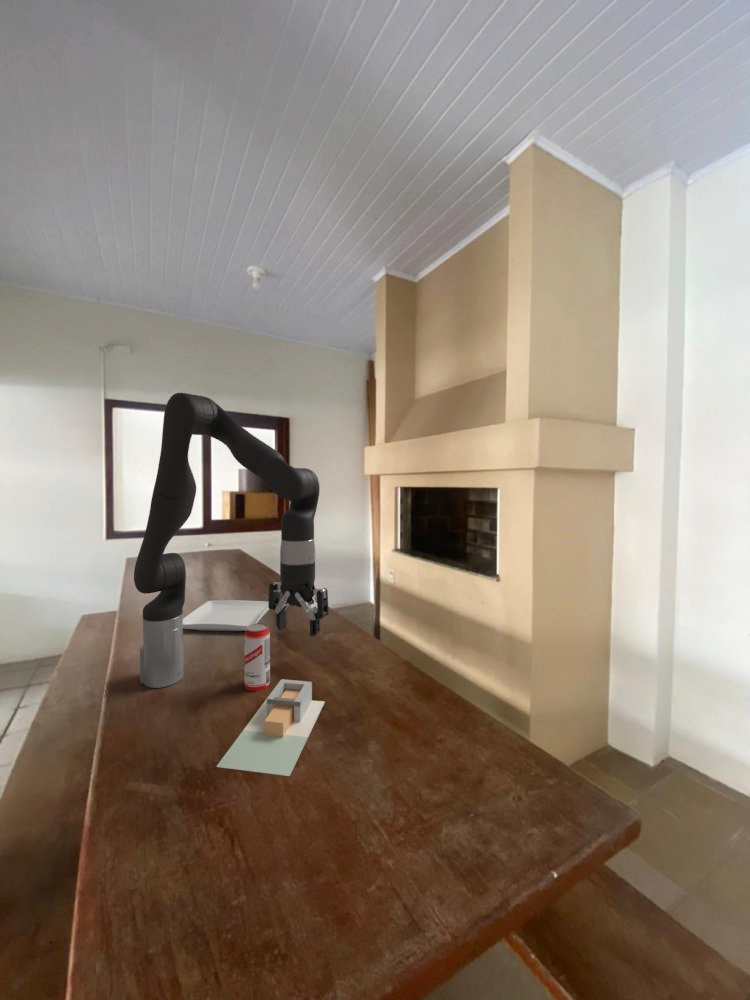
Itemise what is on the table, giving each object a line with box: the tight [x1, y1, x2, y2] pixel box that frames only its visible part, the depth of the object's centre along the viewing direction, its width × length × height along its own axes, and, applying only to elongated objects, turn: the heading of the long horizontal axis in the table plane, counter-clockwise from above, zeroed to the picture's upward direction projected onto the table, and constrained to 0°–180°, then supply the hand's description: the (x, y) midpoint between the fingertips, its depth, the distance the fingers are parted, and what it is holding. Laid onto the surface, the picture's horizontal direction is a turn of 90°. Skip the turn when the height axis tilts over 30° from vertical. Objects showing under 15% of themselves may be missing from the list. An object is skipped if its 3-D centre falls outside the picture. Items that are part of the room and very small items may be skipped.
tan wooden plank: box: [264, 690, 300, 737], centre depth 86 cm, size 4×12×3 cm, turn 172°
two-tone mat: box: [215, 678, 326, 777], centre depth 82 cm, size 14×23×6 cm, turn 172°
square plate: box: [183, 599, 270, 632], centre depth 147 cm, size 27×27×4 cm
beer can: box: [243, 622, 271, 692], centre depth 100 cm, size 6×6×16 cm
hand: (297, 632), depth 87 cm, fingers open, 8 cm apart
